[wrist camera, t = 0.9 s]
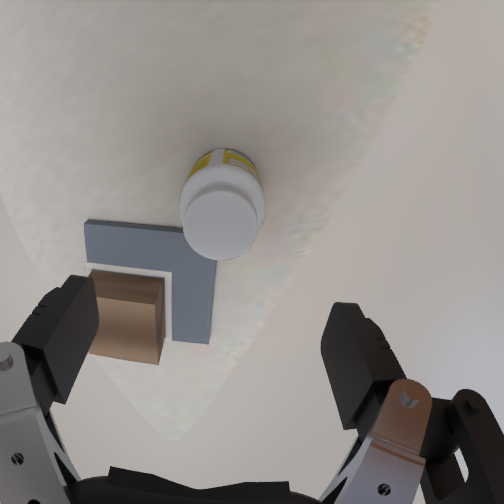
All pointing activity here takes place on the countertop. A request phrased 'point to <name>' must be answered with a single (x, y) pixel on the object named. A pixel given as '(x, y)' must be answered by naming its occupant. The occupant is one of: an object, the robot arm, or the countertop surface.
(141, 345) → the walnut block
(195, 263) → the mat
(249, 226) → the supplement bottle
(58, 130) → the countertop surface
